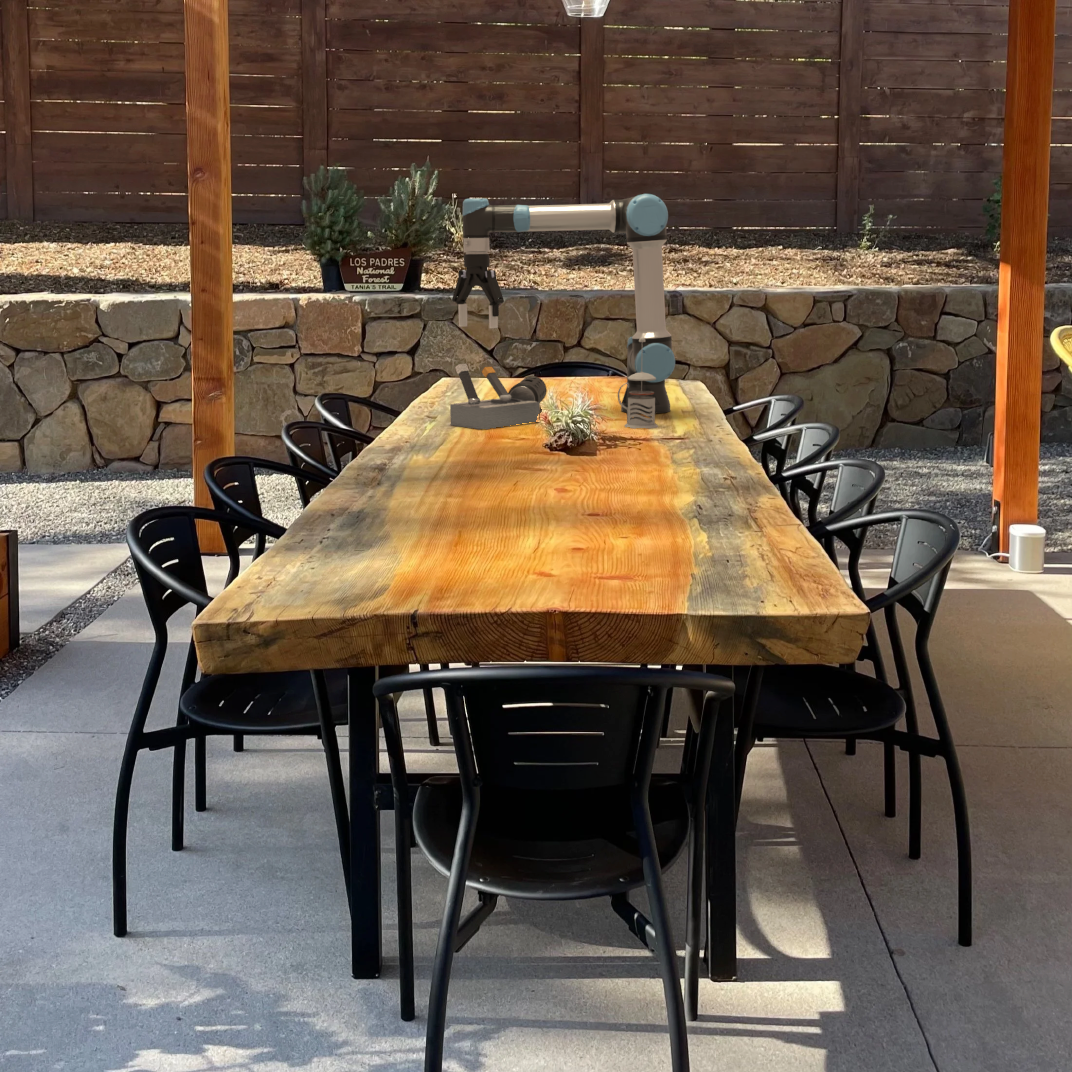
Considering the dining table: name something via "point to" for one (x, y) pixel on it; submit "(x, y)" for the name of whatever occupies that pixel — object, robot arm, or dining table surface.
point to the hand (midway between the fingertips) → (478, 327)
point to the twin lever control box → (489, 408)
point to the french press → (634, 418)
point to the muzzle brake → (529, 389)
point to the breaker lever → (496, 383)
